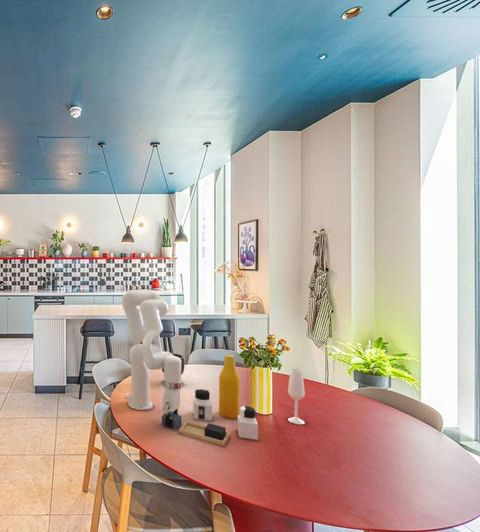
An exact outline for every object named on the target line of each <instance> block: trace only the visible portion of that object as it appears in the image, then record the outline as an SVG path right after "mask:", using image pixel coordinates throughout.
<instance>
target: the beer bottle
mask: <svg viewBox="0 0 480 532" xmlns="http://www.w3.org/2000/svg"><path fill="white" fill-rule="evenodd" d="M240 382H241V379H240V376H239V373H238V371H237V369H236V359H235V355H233V354H225V355H224V359H223V366H222V370H221V371H220V373H219V377H218V383H219V384H218V387H219V388H218V414H219V415H220V416H221V417H222V418H225V419H228V420H236V419H237V420H238V415H240V407H241V406H240V403H241V401H240V398H241V395H240V387H241V383H240Z"/></svg>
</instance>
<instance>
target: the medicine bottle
mask: <svg viewBox="0 0 480 532" xmlns="http://www.w3.org/2000/svg"><path fill="white" fill-rule="evenodd" d="M236 425H237V426H236V427H237V429H236V430H237V433H238V437H239V438H243V439H249V440H256V441H259V424H258V421H257V418H256V409H255V408H254V407H252V406H249V405H242V406H240V415H238V418H237V424H236Z"/></svg>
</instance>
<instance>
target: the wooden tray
mask: <svg viewBox="0 0 480 532" xmlns="http://www.w3.org/2000/svg"><path fill="white" fill-rule="evenodd" d="M206 426H207V425H203V424H199V423H195V422H191V421H188V420H186V421H185V422H184V424H183V425H182V426H180V427H179V428H178V429H179V430H178V431H179V434H182V435H186V436H189V437H192V438H196V439H199V440H202V441H205V442H209V443H213V444H216V445H220V446H222V447H224V446H225V445H226V443H227V441H228V439H229V438H230V432H229V431H226V436H225V438H224V440H223V441H221V440H217V439H214V438H210V437H207V436H205V427H206Z"/></svg>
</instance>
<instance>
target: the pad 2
mask: <svg viewBox="0 0 480 532" xmlns="http://www.w3.org/2000/svg"><path fill="white" fill-rule="evenodd" d="M205 426H206V427H205V436H207V437H210V438H214V439H217V440H221V441H223V440H224V438H225V436H226V432H227V430H226V429H227V428H226V427H225V426H221V425H218V424H213V423H210V422H208V423H207V424H206V425H205Z"/></svg>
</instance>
